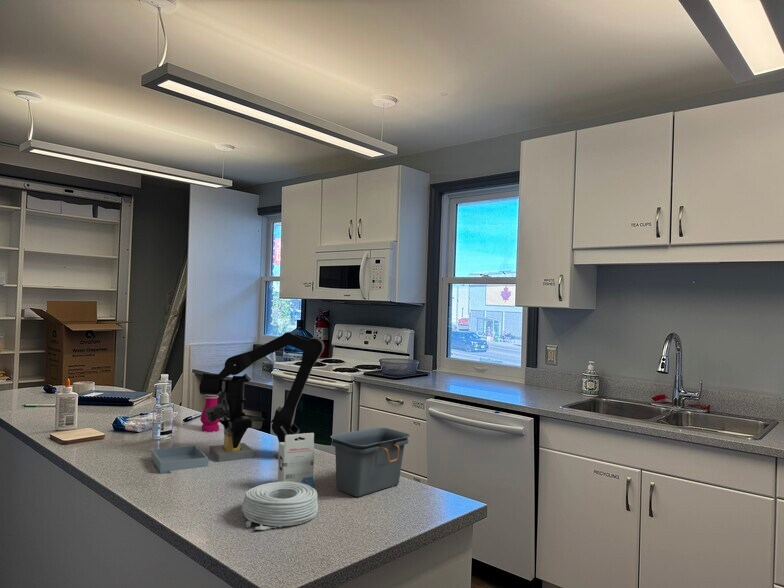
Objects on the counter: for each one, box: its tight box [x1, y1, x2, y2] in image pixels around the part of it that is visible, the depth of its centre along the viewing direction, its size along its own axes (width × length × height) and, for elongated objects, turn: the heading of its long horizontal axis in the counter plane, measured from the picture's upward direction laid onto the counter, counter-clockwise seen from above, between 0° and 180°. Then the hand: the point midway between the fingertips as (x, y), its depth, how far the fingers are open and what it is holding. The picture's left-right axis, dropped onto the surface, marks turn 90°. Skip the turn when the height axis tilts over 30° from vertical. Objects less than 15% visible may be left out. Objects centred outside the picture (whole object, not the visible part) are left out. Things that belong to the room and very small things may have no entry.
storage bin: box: [329, 427, 411, 497], centre depth 152 cm, size 21×16×14 cm
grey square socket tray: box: [208, 442, 256, 463], centre depth 176 cm, size 11×11×2 cm
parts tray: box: [150, 445, 209, 475], centre depth 166 cm, size 15×13×3 cm
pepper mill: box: [200, 395, 221, 433], centre depth 208 cm, size 7×7×20 cm
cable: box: [241, 481, 319, 531], centre depth 131 cm, size 18×18×6 cm
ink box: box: [277, 432, 315, 488], centre depth 151 cm, size 9×5×15 cm, turn 117°
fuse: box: [223, 428, 242, 452], centre depth 176 cm, size 4×4×8 cm
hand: (232, 445), depth 176 cm, fingers open, 6 cm apart
